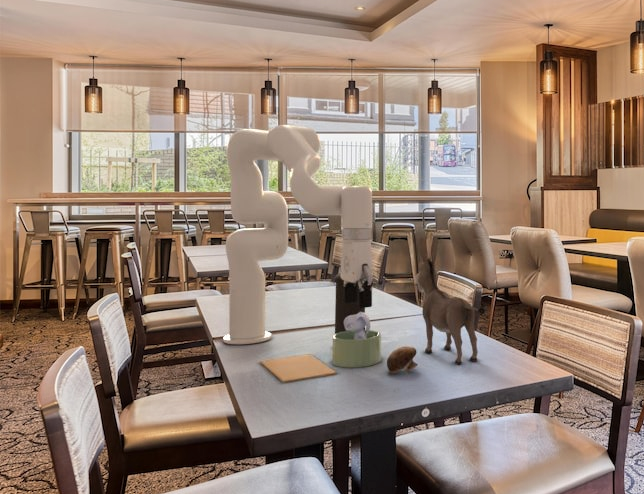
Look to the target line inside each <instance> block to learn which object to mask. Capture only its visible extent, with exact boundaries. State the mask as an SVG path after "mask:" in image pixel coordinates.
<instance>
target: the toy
mask: <svg viewBox="0 0 644 494" xmlns="http://www.w3.org/2000/svg"><path fill="white" fill-rule="evenodd" d="M438 249H439V238H438V236H437V235H435V236H434V238H433V239H432V242H431V246H430V257H429V256H428V254H429V253H428V247H427V244H426V240H425V238H424V237H423V236H420V239H419V253H420V256H421V259H422V260H423V262H420V263H419V264H418V269H419V271H418V273H416V275H415V278H414V286H416V288H417V290H418V292H419V293H424V296H425V299H424V301H423V305H422V311H421V312H422V317H423V321H424V323H425V330H426V340H427V342H426V343H427V344H426V347H425V348H424V353H426V354H431V353H433V349H432V348H433V338H434V337H433V336H434V328H435V329H436V330H437V331H439V332H442V333H445V334H446V343H445V345H444V346H443V349H444V350H445V351H450V350H452V346H451V345H452V344H453V342H454V345H455V349H456V354H457V355H456V358H455V359H454V364H456V365H461V364H463V362H462V357H463V349H462V345H463V340H462V329H463V327H464V328H465V330H466V332H467V335H468V338H469V342H470V345H471V349H472V350H471V351H472V354H471V356H470V357H469V361H471V362H477V361H478V357H477V356H478V354H479V353H478V345H477V344H478V343H477V342H478V337H477V335H476V330H475V319H476V318H475V311H476V312H478V314H480V315H484V314H485V313H486V310H485V307H484V306H481V307H479V308H476V307H473V306H472V305H471V303H470V302H468V301H467V300H466V299H464V298H462V297H458V296H453V297H450V295H449V294H448V293H447V292H446V291H444V290H441V289H440V288H439V286H438V273H437V271H436V260H437V257H438ZM452 339H453V340H452Z"/></svg>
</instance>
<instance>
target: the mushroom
mask: <svg viewBox="0 0 644 494" xmlns="http://www.w3.org/2000/svg"><path fill="white" fill-rule="evenodd" d="M416 355H417V349H416V348H415V347H413V346H400V347H398V348H396V349H394V350H393V351H392V352H391V353H390V354H389V355H388V358H387V360H386V367H387V370H388V372H389V373H391V374H397V373H399V372H401V371H405V372H410V371H411V370H413V369H415V368H417V366H418V364H419V363H417V362H415V361H414V358H415V357H416Z"/></svg>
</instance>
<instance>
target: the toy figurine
mask: <svg viewBox="0 0 644 494" xmlns="http://www.w3.org/2000/svg"><path fill="white" fill-rule="evenodd" d="M344 327H345V329H346V331H349V332H351V333H355V337H354V340H357V339H366V337H367V336H366V334H368V333H369V330H371V319H370V317H369V315H368V314H367V313H366V312H365V313H364V312H359V313H358V314H355V315H350V316H348V317H346V318H345V320H344ZM364 328H365V330H366V334H365V333H364V331H363V329H364Z"/></svg>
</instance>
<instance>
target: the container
mask: <svg viewBox="0 0 644 494" xmlns="http://www.w3.org/2000/svg"><path fill="white" fill-rule="evenodd" d="M333 281H334V283H335V305H334V306H335V307H334V308H335V309H334V310H335V311H334V334H336V333H339V332H344V331H346V329H345V327H344V320H345V318H346V317H348V316H350V315H355V314H358V313H359V312H364V313H366V308H359V291H360V288H359V285H358V281H356V284H355V286H357V301H356V302H350V303H345V302H344V285H343V284H344V280H342V279H341V273H338V274H336V275H335V276H334V277H333ZM362 284H364V283H362ZM363 330H366V327H365V328H364V329H363Z"/></svg>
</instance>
